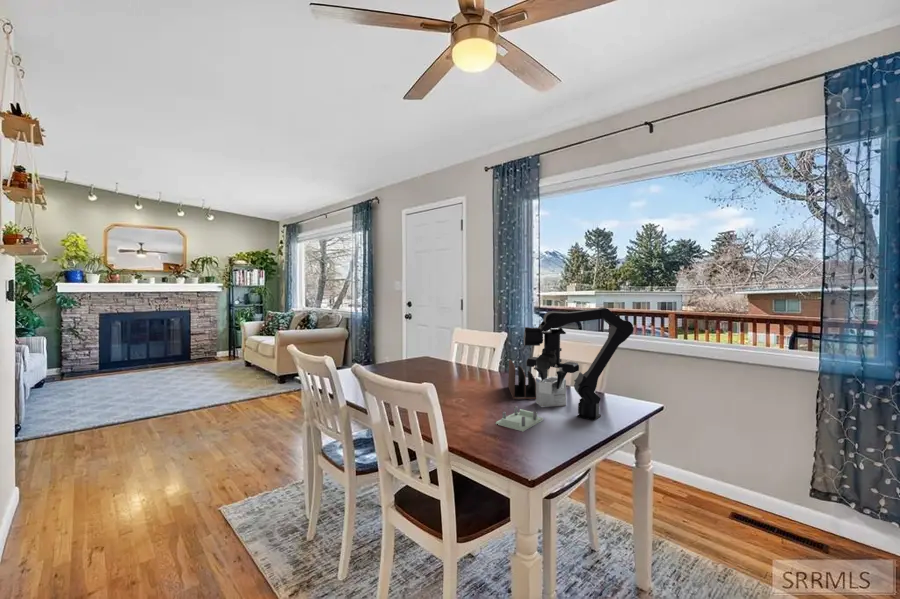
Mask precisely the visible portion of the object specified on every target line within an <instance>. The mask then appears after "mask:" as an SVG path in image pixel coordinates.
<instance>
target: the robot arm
mask: <svg viewBox="0 0 900 599" xmlns="http://www.w3.org/2000/svg"><path fill="white" fill-rule="evenodd" d="M610 310H611V309H609V308H607V307H603V306H602V307H599V308H592V309H591V308H590V309H586V310H585V309H584V310H583V309H582V310H577V311H569V312H568V311H557V310H556V311H550V310H549V311H547V312H546V313H545V314H544V315H543V318H542V319H543V320H542V322H541V323H540V324H539V326H538V327H529V326H524V332H523V345H524V347H526V346H527V347H530V346H531V347H534V346H535V347H538V346H539V347H540V346H541V345H542V344H543V348H542V349H541V350H542V351H541V354H540V355H539V356H532V357H529V358H528V357H527V359H526V362H525V364H526V365H525V366H526V367H530V368H533V369H534V370H535V371H536V372H538V374H539V377H541V379H542V380H544V379H546V378H547V377H548V370H550V369H551V368H557V369H558V370H557V371H556V375H557V376H558V378H557V389H559V388H560V386H561V384H562V382H563V380H564V379H566V376H567V374H568V373H569V374H574V373H577V372H579V371H580V365H579V364H578V362H573V361H566V362H563V363H562V358H561V352H562V349H563V348H562V347H561V335H566V334H567V332H566V331H565V330H564V328H562V327H564V326H566V325H569V324H573V323H582V322H589V321H594V320H595V321H596V320H603V321H604V322H605V323H606V324H608V325H609V326H610V328H609V330H608V335H607V339H606V340H605V342H604V343H603V346H602V347H601V349H600V350H599V352H598V353H597V355H596V357H595V358H594V360H593V361H592V363H591V365H590V366H589V367H588V369H587V370H586V371H585V372H584V373H582V372H581V371H580V372H579V373H578V375H577V377H576V379H574V380H573V381H574V384H573V387H574V390H575V392H576V393H577V394H578V395H579V397H580V399H579V402H578V404H577V417H578V418H582V419H586V420H591V421H596V420H597V419H598V418H601V416H602V415H601V414H600V401H601V397H600V396H599V395H598V394H597V393H596V392H595V391H596V389H597V386H598V381H599V378H600V376H601V374H602V373H603V371H604V370H605V369H606V367H607V364H609V362H610V360H611V359H612V357H613V356H614V354H615V353H616V351H617V349H618V348H619V346H620V345H621V344H623V343H624V342H625V341H626V340H627V339H628V338H629V337H630V336H631V335H632V334H633V332H634V330H635V328H634V325H633V323H632V322H630V321H629V320H626V319H624V318H621V317H620V316H618V315H617V314H615V313H613V312H612V311H610Z"/></svg>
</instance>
